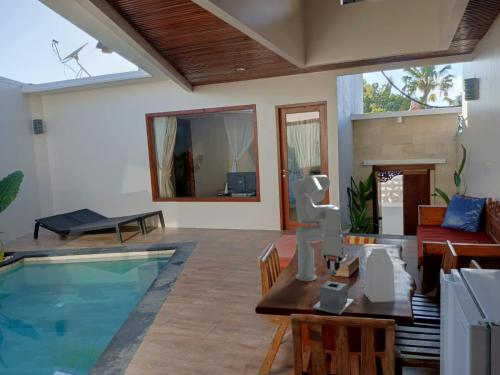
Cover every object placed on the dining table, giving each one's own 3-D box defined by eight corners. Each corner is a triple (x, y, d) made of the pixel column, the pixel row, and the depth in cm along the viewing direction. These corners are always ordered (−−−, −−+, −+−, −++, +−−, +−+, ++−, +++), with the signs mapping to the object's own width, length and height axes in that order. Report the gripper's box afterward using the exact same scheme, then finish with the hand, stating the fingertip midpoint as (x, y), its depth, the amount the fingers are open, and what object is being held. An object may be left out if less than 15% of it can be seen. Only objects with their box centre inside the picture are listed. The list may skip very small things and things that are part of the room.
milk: (386, 292, 209) (386, 244, 206) (395, 301, 197) (395, 250, 194) (364, 293, 208) (363, 245, 206) (371, 302, 197) (371, 251, 194)
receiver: (328, 296, 206) (327, 277, 205) (353, 301, 198) (353, 282, 197) (312, 308, 192) (312, 288, 191) (340, 314, 184) (339, 294, 183)
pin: (330, 271, 197) (330, 253, 196) (340, 273, 194) (340, 254, 193) (325, 274, 192) (325, 255, 192) (336, 276, 189) (336, 257, 188)
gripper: (351, 232, 189) (352, 269, 191) (320, 229, 199) (321, 264, 201) (346, 235, 183) (346, 273, 185) (314, 232, 193) (314, 268, 195)
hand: (333, 268), depth 193 cm, fingers closed on pin, 3 cm apart
